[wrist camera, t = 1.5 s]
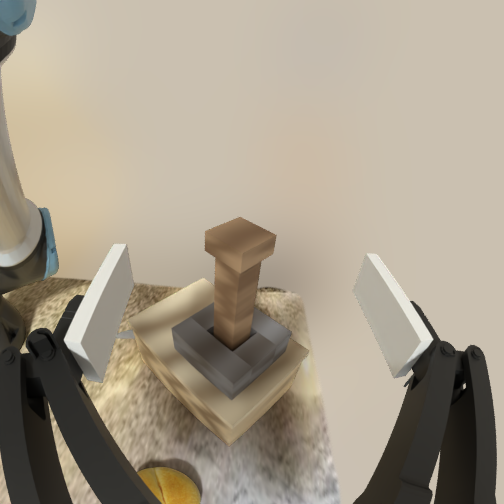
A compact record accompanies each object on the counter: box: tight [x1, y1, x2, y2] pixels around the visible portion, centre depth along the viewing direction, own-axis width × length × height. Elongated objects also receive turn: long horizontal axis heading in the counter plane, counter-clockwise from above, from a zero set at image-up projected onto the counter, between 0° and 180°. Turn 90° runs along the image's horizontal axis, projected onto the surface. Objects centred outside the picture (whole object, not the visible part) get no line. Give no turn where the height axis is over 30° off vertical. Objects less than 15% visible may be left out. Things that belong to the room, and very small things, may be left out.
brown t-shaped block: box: [205, 217, 276, 352], centre depth 29 cm, size 4×4×17 cm
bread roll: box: [137, 467, 201, 504], centre depth 22 cm, size 8×9×4 cm
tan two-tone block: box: [127, 278, 309, 446], centre depth 37 cm, size 21×15×14 cm
